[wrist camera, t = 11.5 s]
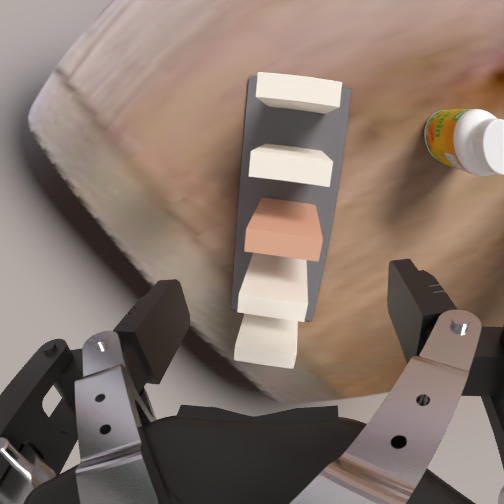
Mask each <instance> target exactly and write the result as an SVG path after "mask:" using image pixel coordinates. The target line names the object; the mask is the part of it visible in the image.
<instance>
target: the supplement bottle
mask: <svg viewBox="0 0 504 504" xmlns="http://www.w3.org/2000/svg"><path fill="white" fill-rule="evenodd" d="M424 138H425V143H426V146H427V148H428V150H429V152H430V154H431V155H432V156H433V157H434V158H435V159H436V160H437V161H439V162H441V163H443V164H446V165H448V166H451V167H454V168H457V169H460V170H463V171H466V172H468V173H471V174H474V175H477V176H481V177H487V176H491V175H493V174H495V173H497V174H501V175H504V120H502V119H497V118H496V117H495V116H493V115H492V114H490V113H489V112H487V111H484V110H480V109H459V110H441V111H438V112H436V113H434V114H433V115H432V116H431V117H430V118H429V119H428V121H427V123H426V126H425V130H424Z"/></svg>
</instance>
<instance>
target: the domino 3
mask: <svg viewBox="0 0 504 504" xmlns="http://www.w3.org/2000/svg"><path fill="white" fill-rule="evenodd" d="M322 242H323V237H322V232H321V227H320V223H319V218H318V213H317V209H316V205H313V204H307V203H300V202H292V201H285V200H278V199H270V198H261V200H260V202H259V204H258V206H257V208H256V210H255V212H254V214H253V216H252V218H251V220H250V222H249V224H248V226H247V228H246V237H245V248H244V251H246V252H253V253H260V254H267V255H274V256H281V257H288V258H295V259H302V260H309V261H317V262H319V258H320V252H321V247H322Z"/></svg>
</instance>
